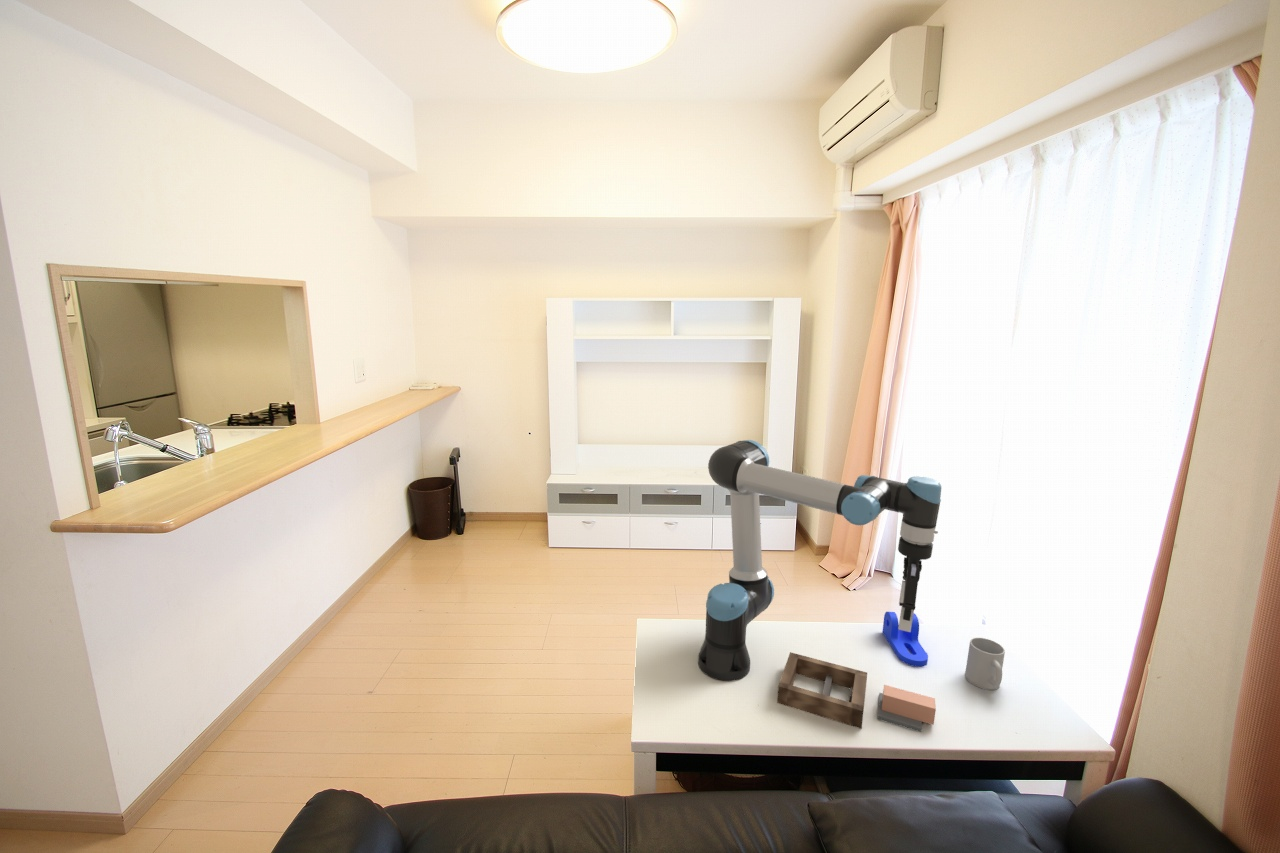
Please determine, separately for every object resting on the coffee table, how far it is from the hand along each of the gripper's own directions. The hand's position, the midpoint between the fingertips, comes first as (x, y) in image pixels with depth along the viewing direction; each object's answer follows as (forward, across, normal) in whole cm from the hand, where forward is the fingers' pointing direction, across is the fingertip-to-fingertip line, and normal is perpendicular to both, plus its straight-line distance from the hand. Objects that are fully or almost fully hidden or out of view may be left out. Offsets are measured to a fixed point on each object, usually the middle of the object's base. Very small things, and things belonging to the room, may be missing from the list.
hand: (904, 617), depth 140 cm
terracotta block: (+25, -2, -4) cm, 25 cm away
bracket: (+27, +31, -4) cm, 41 cm away
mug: (+26, +22, -24) cm, 42 cm away
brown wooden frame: (+26, -4, +16) cm, 31 cm away
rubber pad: (+26, -2, -2) cm, 26 cm away
